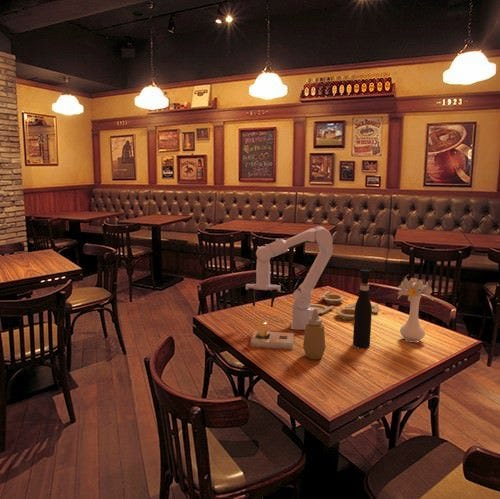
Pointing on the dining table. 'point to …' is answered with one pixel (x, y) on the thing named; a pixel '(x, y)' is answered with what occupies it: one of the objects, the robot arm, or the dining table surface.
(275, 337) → the plate
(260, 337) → the brass fitting
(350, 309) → the tableware set
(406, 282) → the flower vase
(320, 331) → the squeeze bottle
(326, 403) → the dining table surface
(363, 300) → the wine bottle
